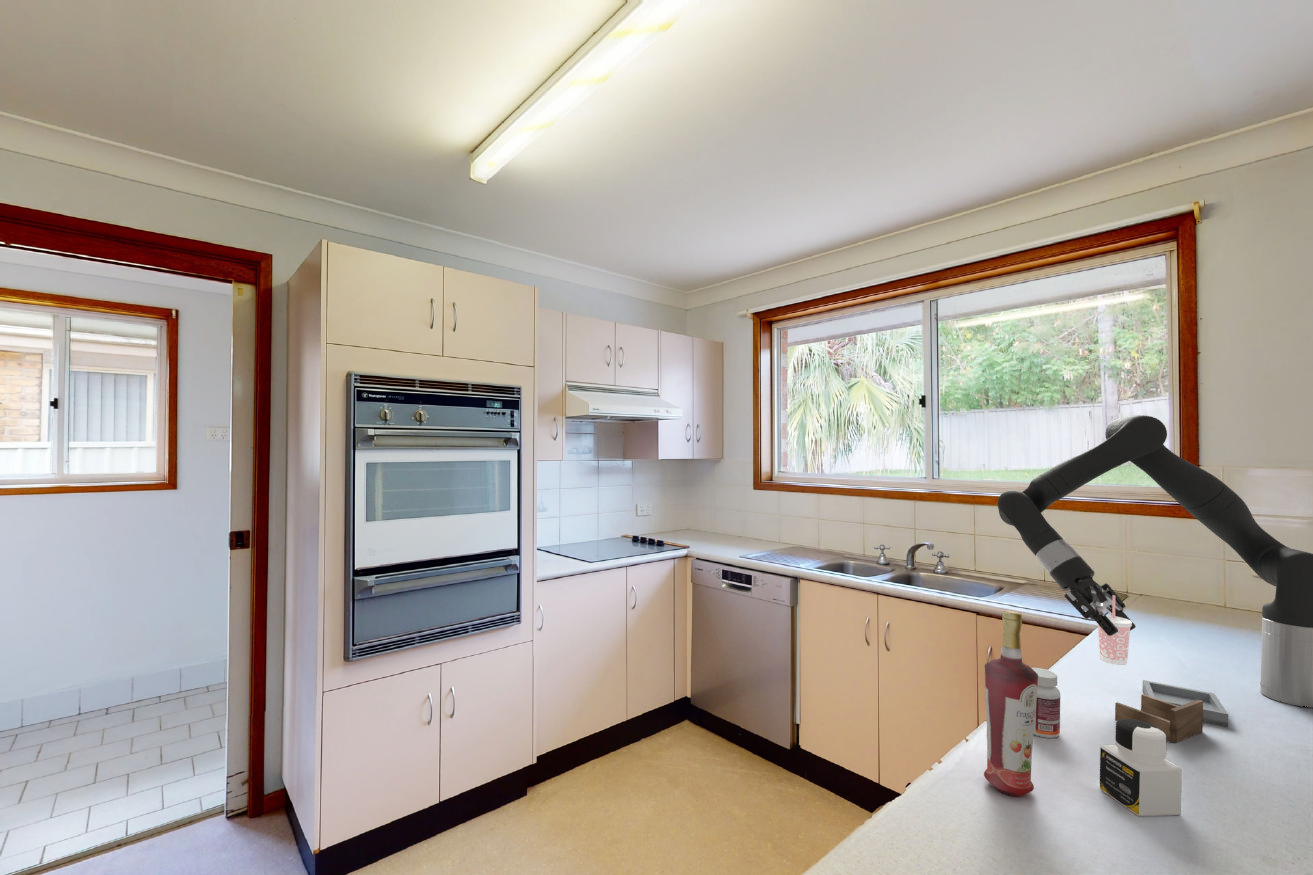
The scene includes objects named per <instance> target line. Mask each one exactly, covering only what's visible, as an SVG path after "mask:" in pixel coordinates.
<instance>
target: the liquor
mask: <svg viewBox="0 0 1313 875" xmlns="http://www.w3.org/2000/svg"><path fill="white" fill-rule="evenodd" d="M1001 615H1002V616H1001V617H1002V627H1003V636H1002V643H1001V650H1000V658H995V659H992V660H989V661H988V662H986V663H985V664H984V686H985V687H984V688H985V692H984V693H985V712H986V714H985V715H986V749H987V750H986V751H987V752H986V755H987V756H986V757H987V758H986V766H987V767H986V769H985V770H984V772H983V776H984V779H986V780H987V782H988V783H989V784H990V785H991V786H992V787H993V788H994V789H995V790H996V791H998V793H999V792H1000V793H1001V794H1003V795H1007V796H1009V797H1015V798H1020V797H1023V796H1025V795H1028V794H1030V793H1032V792H1033V791H1034V789H1035V786H1034V783H1033V782H1032V761H1033V760H1032V759H1033V748H1034V746H1033V744H1034V734H1033V732H1034V722H1035V712H1036V700H1037V685H1038V674H1037V673H1036V672H1035V671H1034V670H1033V669H1032V668H1033V667H1031V666H1029V665H1027V664H1026V663H1024V662H1023V656H1022V643H1021V642H1022V641H1021V630H1022V626H1023V614H1022V613H1021V612H1018V611H1016V610H1002V614H1001Z"/></svg>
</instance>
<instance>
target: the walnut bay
mask: <svg viewBox="0 0 1313 875" xmlns="http://www.w3.org/2000/svg"><path fill="white" fill-rule="evenodd" d="M1140 702H1141V703H1140V709H1137V708H1135V707H1132V706H1129V705H1126V704H1124V703H1121V702H1118V701H1117V702H1115V703H1114V704H1115V708H1114V710H1115V712H1114V720H1115V722H1117V721H1118V720H1121V719H1136V720H1140V721H1144V722H1147V723H1150V724H1152V725H1154V726H1156V727H1158V728H1159V729H1161V730H1162V731H1163V732H1164V733H1165V735H1166V741H1168V742H1171V743H1173V744H1176V743H1180V742H1181V741H1184V740H1187V739H1189V738H1192V737H1194V736H1197V735H1198V734H1201V733H1203V725H1204V724H1203V723H1204V722H1203V701H1201V700H1195V701H1192V702H1190V703H1187V704H1184V705H1181V706H1177V705H1174V704H1171V703H1168V702H1165V701H1163V700H1160V699H1157V698H1154V697H1151V696H1148V695H1145V694H1143V693H1142V694H1141V695H1140Z"/></svg>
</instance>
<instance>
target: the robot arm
mask: <svg viewBox="0 0 1313 875" xmlns="http://www.w3.org/2000/svg"><path fill="white" fill-rule="evenodd" d="M1104 435H1105V440H1104V441H1103V442H1101V443H1100V444H1098V445H1096V446H1094V447H1093V448H1090V449H1088V450H1087V451H1084V452H1082V453H1080V454H1078V455H1076V456H1073V457H1071V458H1068V459H1066V460H1064V461H1061V462H1060V463H1058V464H1056V465H1054V466H1053V467H1051V468H1048V470H1046V471H1044V472H1043V473H1041V474H1038V476H1036V477H1035V478H1033V479H1032V480H1031V481H1030V483H1029V484H1028V486H1027V487H1026V488H1025V489H1024V490H1023V491H1020V490H1017V489H1009V490H1006V491H1004V492H1002V493H1001V494H1000V495H999V497H998V498H997V509H998V514H999V517H1000V519H1001V520H1002V521H1003V522H1004V523H1005V524H1006V525H1009V526H1013V527H1014V528H1015V529H1016V531H1017V532H1018V533H1019V535H1020V537H1021V539H1022V541H1023V542H1024V544H1025V546H1026V547H1027V548H1028V549H1029V550H1030V551H1031V553H1032V554H1033V556H1035V557H1036V559H1037V560H1038V562H1039V563H1040V564H1041V566H1042V567H1043V569H1045V571H1046V572H1047V573H1048V575H1049V576H1050V577H1051V578H1052V579H1053V580H1054V581H1055V583H1056V584H1057V585H1058V586H1059V587H1060V588H1061V590H1062V591H1068V592H1066V593H1065V594H1064V598H1065V599H1066V600H1067V601H1068V602H1069V603H1070V604H1071V605H1072V607H1073V608H1075V610H1076V611H1077V612H1078V613H1079V614H1080V615H1082V617H1083V618H1084V619H1086V620H1087V619H1090V620H1092V621H1095V622H1096V623H1097V625H1098V624H1099V626H1100V627H1101V628H1102V629H1103V630H1104V631H1105V633H1106V634H1107V635H1108V636H1111V635H1114V634H1115V633H1117V632H1118V629H1117V628H1116V627H1115V625H1114V624H1113V623H1112V622H1111V621H1110V620H1109V619H1108V617H1107V616H1106V615H1107V614H1105V613H1104V611H1106V612H1107V613H1108V615H1111V616H1112V605H1113V595H1114V596H1115V616H1117V617H1122V618H1125V619H1128V620H1130V621H1132V620H1131V619H1130V618H1129V616H1128V615H1127V614H1126V613H1125V612H1124V608H1126V604H1125V603H1124V602H1123V601H1122V599H1121V598H1120V597H1119V596H1118V594H1117V593H1116V592H1115V591H1114V590H1113V588H1112V587H1111V586H1110V585H1109V584H1108V583H1106V582H1105V583H1104V584H1102V585H1100V584H1099V583H1098V582H1096V581H1095V580H1094V579H1093V577H1094V576H1095V571H1094V570H1093V568H1091V566H1090V565H1089V564H1088V563H1087V562H1086V560H1084V558H1083V557H1082V556H1081V555H1080V554H1079V553H1078V552H1077V551H1076V550H1075V549H1074V548H1073V547H1072V546H1071V545H1070V544H1069V543H1068V542H1066V540H1065V539H1064V538H1063V537H1062V536H1061V535H1060V534H1059V532H1057V530H1055V529H1054V527H1052V526H1051V524H1050V523H1049V522H1048V521H1047V520H1046V519H1045V517H1044V515H1043V514H1042V513H1043V512H1044V511H1045V510H1046V509H1047V508H1049V507H1050V506H1051V505H1052V504H1054V503H1055V502H1058V501H1060V500H1061V499H1064V497H1066V496H1068V495H1069V494H1071V493H1074V491H1076V490H1078V489H1079V488H1081V487H1083V486H1084V485H1086V484H1087V483H1089V482H1091V481H1093V480H1095V479H1096V478H1097V479H1098V477H1100V476H1102V475H1103V474H1106V473H1107V472H1110V471H1112V470H1114V469H1115V468H1117V467H1119V466H1122V465H1124V464H1126V463H1128V462H1130V463H1132V464H1133V465H1134V466H1136V467H1138V468H1139V469H1140V470H1142V471H1143V472H1144V473H1145V474H1146V475H1148V476H1149V477H1150V478H1151V479H1152V480H1153V481H1154V482H1155V483H1156V484H1157V485H1158V486H1159V487H1161V489H1162V490H1164V491H1165V492H1166V493H1167V494H1168V495H1169V496H1170V497H1171V498H1173V499H1174V500H1175V501H1176V503H1178V504H1179V505H1180V506H1181V507H1182V508H1183V509H1184V510H1186V512H1188V513H1189V514H1190V515H1192V517H1194V518H1195V519H1196V520H1197V521H1199V522H1200V523H1201V524H1202V525H1204V526H1205V527H1206V528H1207V529H1208V530H1210V531H1211V532H1212V533H1213V534H1214V535H1216V536H1217V537H1218V538H1219V539H1221V540H1222V541H1223V542H1224V543H1226V544H1227V545H1228V546H1229V547H1231V549H1233V550H1234V552H1235V553H1237V555H1239V556H1240V558H1241V559H1242V560H1243V561H1244V562H1245V563H1246V564H1247V565H1248V566H1249V567H1250V568H1251V570H1253V571H1252V572H1254V573H1255V574H1256V575H1257V576H1258V577H1259V578H1260V579H1261V580H1262V581H1264V582H1265V583H1267V584H1269V585H1272V586H1273V587H1276V588H1275V595H1274V599H1273V601H1271V602H1267V603H1265V604H1263V606H1262V609H1261V647H1260V648H1261V649H1260V650H1261V652H1260V682H1259V684H1260V687H1259V688H1260V690H1259V691H1260V693H1261V694H1262V695H1263V696H1265V697H1266V698H1269V699H1272V700H1275V701H1278V702H1280V701H1281V703H1284V704H1289V705H1293V706H1297V707H1298V706H1299V707H1303V706H1305V707H1304V708H1313V553H1311V552H1309V551H1308V552H1307V551H1303V550H1300V549H1299V550H1298V549H1295V548H1292V547H1291V548H1290V547H1288V546H1286V545H1285V544H1283V543H1282V542H1280V541H1278V540H1277V539H1276V538H1275V537H1274V536H1272V535H1271V534H1269V533H1268V532H1267V531H1265V529H1263V528H1262V527H1261V526H1260V525H1259V524H1258V523H1257V521H1256V520H1255V517H1253V514H1252V513H1251V511H1250V508H1249V507H1248V505H1247V504H1246V502H1245V501H1244V500H1243V499H1242V498H1241V497H1240V495H1238V494H1237V493H1236V492H1235V491H1234V490H1233V489H1232V488H1230V486H1228V485H1227V484H1225V483H1224V482H1223V481H1222V480H1221V479H1219V478H1217V477H1216V476H1215V475H1213V474H1211V473H1210V472H1209V471H1206V470H1205V469H1203V468H1201V467H1199V466H1198V465H1195V464H1193V463H1191V462H1189V461H1188V460H1186V459H1184V458H1182V457H1180V456H1178V455H1177V454H1176V453H1174V452H1173V451H1172V450H1170V449H1169V448H1168V447H1167V446H1166V445H1165V443H1166V441H1167V438H1168V430H1167V428H1166V425H1165V424H1164V423H1163V422H1162V421H1161V420H1160V419H1158V418H1156V417H1154V416H1150V415H1142V414H1140V415H1139V414H1138V415H1129V416H1123V417H1119V418H1116V419H1114V420H1112V421H1111V422H1110V423H1109V424H1107V426H1106V429H1105V434H1104ZM1103 610H1104V611H1103ZM1131 625H1132V626H1131V627H1130V632H1131V631H1132V630H1134V629H1135V628H1136V624H1135V623H1134V622H1133V621H1132V624H1131ZM1306 706H1307V707H1306Z"/></svg>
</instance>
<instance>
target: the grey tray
mask: <svg viewBox="0 0 1313 875" xmlns="http://www.w3.org/2000/svg"><path fill="white" fill-rule="evenodd" d="M1141 690H1142V694H1145V695H1148V696H1151V697H1154V698H1157V699H1160V700H1163V701H1165V702H1168V703H1171V704H1174V705H1177V706H1181V705H1184V704H1187V703H1190V702H1192V701H1195V700H1201V701H1203V723H1208V724H1212V725H1217V726H1222V727H1227V728H1228V727H1229V712H1227V710H1226V709H1225V707H1224V706H1223V704H1222V703H1221V701H1220V700H1219V698H1218V697H1217V695H1216V694H1215V693H1213V692H1207V691H1204V690H1198V689H1192V688H1187V687H1182V686H1176V685H1171V684H1165V683H1160V682H1156V681H1150V680H1145V679H1142V689H1141Z"/></svg>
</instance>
